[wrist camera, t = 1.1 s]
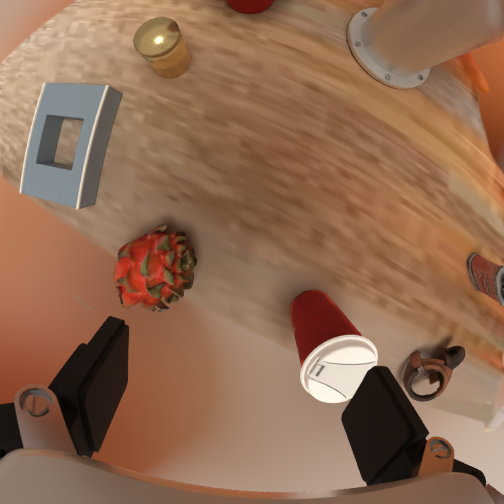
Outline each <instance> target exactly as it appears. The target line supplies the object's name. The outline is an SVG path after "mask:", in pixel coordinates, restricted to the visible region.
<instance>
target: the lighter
mask: <svg viewBox="0 0 504 504" xmlns="http://www.w3.org/2000/svg"><path fill="white" fill-rule="evenodd" d="M467 268H468V273H469V276H470V279H471V282H472V284H473V286H474V287H475V289H476V290H478V291H479V292H483V293H485V294H486V295H488V296H489V297H491V298H493V299H494V300H496V301H497V302H499V303H500V305H501V306H503V307H504V266H502V265H500V266H499V265H497V264H495V263H493V262H491V261H489V260H487V259H484V258H482V257H480V256H479V255H478V254H477V253H474V252H473V253H471V254H470V255H469V257H468V259H467Z"/></svg>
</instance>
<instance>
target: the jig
mask: <svg viewBox="0 0 504 504" xmlns="http://www.w3.org/2000/svg"><path fill="white" fill-rule="evenodd" d="M121 97H122V93H120V92H118V91H117V90H115V89H113V88H112V87H110V86H108V85H106V86H103V85H89V84H71V83H44V84H43V87H42V90H41V93H40V97H39V100H38V103H37V107H36V110H35V114H34V118H33V121H32V125H31V130H30V134H29V138H28V143H27V148H26V153H25V158H24V164H23V170H22V177H21V184H20V192H19V193H23V194H27V195H30V196H34V197H38V198H41V199H45V200H48V201H52V202H56V203H59V204H63V205H67V206H70V207H74V208H76V209H81V208H84V207H88V206H91V205H94V204H95V201H96V195H97V190H98V185H99V180H100V175H101V170H102V166H103V161H104V157H105V153H106V149H107V145H108V141H109V137H110V133H111V130H112V126H113V123H114V119H115V116H116V113H117V109H118V106H119V103H120V100H121ZM63 118H66V119H75V120H83V124H82V128H81V132H80V136H79V140H78V144H77V148H76V153H75V157H74V162H73V167H72V166H67V165H62V164H57V163H53V161H54V156H55V151H56V147H57V142H58V138H59V134H60V130H61V126H62V122H63Z"/></svg>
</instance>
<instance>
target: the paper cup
mask: <svg viewBox="0 0 504 504" xmlns="http://www.w3.org/2000/svg"><path fill="white" fill-rule="evenodd" d="M290 313H291V320H292V325H293V330H294V335H295V340H296V344H297V349H298V353H299V358H300V363H301V373H300V378H301V382H302V385H303V387H304V388H305V389H306V391H307V392H309V393H310V394H311V395H312V396H313V397H315V398H316V399H318V400H320V401H323V402H328V403H337V402H343V401H346V400H349V399H351V398H352V397H353V395H354V394H355V392H356V390H357V389H358V387H359V385H360V383H361V382H362V380H363V378H364V376H365V375H366V373H367V371H368V370H369V369H371V368H372V367H373V366H377V359H378V355H377V350H376V348H375V346H374V344H373V343H372V342H371V341H370V340H368V339H367V338H365V337H363V336H362V335H361V334H360V333H359V331H358V330H357V329H356V328H355V327H354V325H353V324H352V323H351V322H350V321H349V319H348V318H347V317H346V316H345V315H344V314H343V312H342V311H341V310H340V309H339V308H338V307H337V305H336V304H335V303H334V302H333V301H332V300H331V299H330V298H329V297H328V296H327V295H326V294H325V293H323V292H321V291H318V290H309V291H306V292H303V293H301V294H300V295H299V296H297V297H296V298H295V300H294V301H293V303H292V305H291V311H290Z"/></svg>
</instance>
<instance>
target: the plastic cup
mask: <svg viewBox="0 0 504 504" xmlns="http://www.w3.org/2000/svg"><path fill="white" fill-rule="evenodd" d="M227 2H228V4H229V5H230V6H231V7H232V8H233V9H235V10H236V11H239V12H242V13H249V14H254V13H259V12H262V11H264V10H266V9H267V8H269V7H270V6H271V4H272V3H273V2H274V0H227Z"/></svg>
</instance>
